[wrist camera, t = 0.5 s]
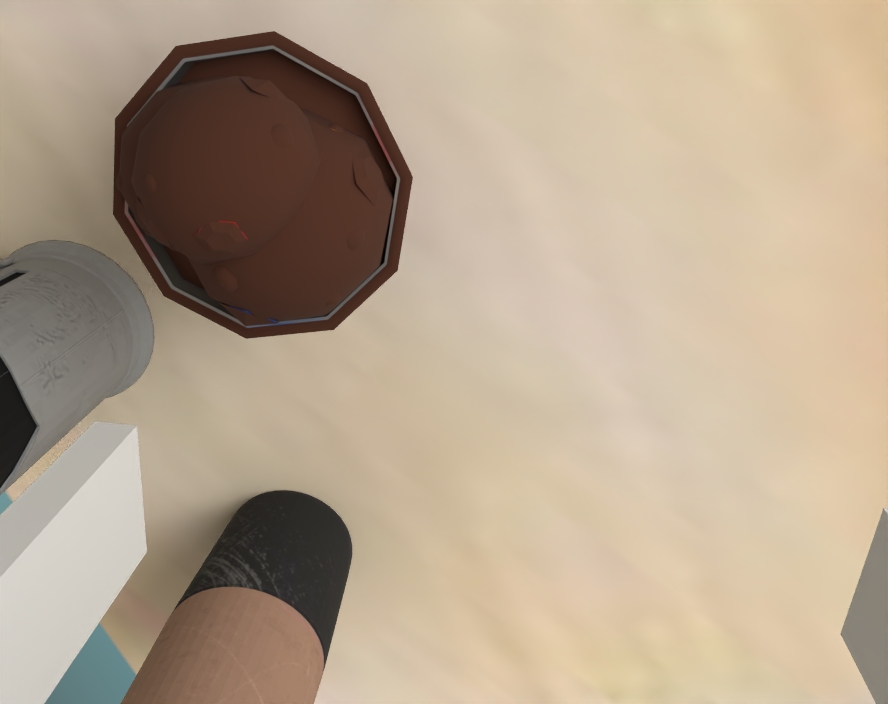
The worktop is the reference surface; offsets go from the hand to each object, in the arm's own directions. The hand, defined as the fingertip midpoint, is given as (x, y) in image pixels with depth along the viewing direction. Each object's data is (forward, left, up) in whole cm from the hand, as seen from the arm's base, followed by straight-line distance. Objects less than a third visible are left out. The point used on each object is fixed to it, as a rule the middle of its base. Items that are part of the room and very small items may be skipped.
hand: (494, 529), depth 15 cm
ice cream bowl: (-4, -8, -26) cm, 27 cm away
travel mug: (+17, -14, -26) cm, 34 cm away
